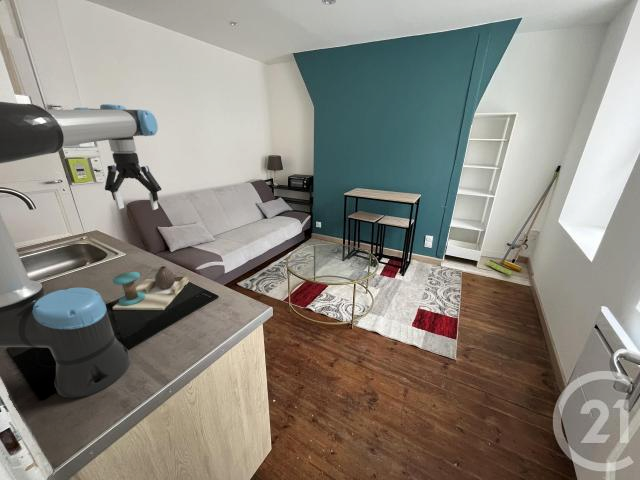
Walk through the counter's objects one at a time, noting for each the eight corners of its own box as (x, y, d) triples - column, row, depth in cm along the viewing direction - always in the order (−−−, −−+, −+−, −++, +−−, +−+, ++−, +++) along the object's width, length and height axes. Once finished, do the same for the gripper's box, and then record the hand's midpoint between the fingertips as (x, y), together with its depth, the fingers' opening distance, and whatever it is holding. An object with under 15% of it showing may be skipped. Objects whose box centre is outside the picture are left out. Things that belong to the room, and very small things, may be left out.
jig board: (163, 310, 95) (157, 284, 91) (113, 309, 94) (104, 284, 90) (188, 281, 113) (184, 259, 109) (146, 281, 113) (141, 259, 109)
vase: (161, 293, 103) (156, 273, 100) (154, 286, 107) (149, 267, 104) (179, 286, 108) (175, 267, 105) (171, 280, 112) (167, 262, 109)
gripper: (164, 152, 99) (174, 206, 107) (98, 150, 99) (113, 205, 107) (152, 153, 92) (164, 211, 100) (81, 152, 92) (99, 210, 100)
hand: (138, 208), depth 104 cm, fingers open, 13 cm apart
